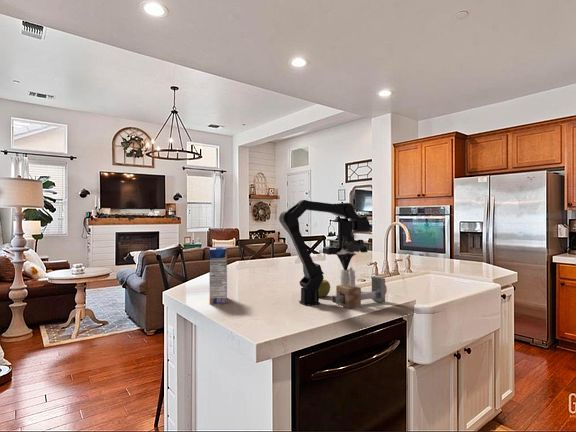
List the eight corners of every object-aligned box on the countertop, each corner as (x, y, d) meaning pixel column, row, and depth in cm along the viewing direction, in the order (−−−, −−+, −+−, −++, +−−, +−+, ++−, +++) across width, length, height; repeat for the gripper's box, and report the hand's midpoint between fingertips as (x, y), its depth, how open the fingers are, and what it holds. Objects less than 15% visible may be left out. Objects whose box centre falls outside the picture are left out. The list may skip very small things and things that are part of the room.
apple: (328, 299, 153) (328, 282, 153) (310, 297, 155) (310, 281, 155) (331, 295, 160) (331, 279, 160) (314, 294, 162) (314, 278, 162)
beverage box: (209, 304, 143) (209, 249, 144) (210, 298, 154) (210, 247, 154) (226, 303, 145) (226, 249, 145) (226, 297, 156) (226, 247, 156)
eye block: (348, 308, 136) (348, 289, 136) (336, 304, 143) (336, 285, 143) (360, 307, 138) (360, 287, 139) (348, 302, 146) (348, 284, 146)
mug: (353, 289, 174) (353, 264, 174) (360, 294, 162) (360, 267, 162) (338, 289, 173) (338, 264, 173) (344, 294, 161) (344, 268, 161)
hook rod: (338, 308, 135) (338, 282, 135) (329, 304, 141) (329, 280, 141) (387, 301, 146) (387, 278, 146) (377, 298, 151) (377, 276, 151)
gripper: (335, 235, 139) (335, 275, 139) (375, 233, 146) (375, 271, 146) (322, 233, 149) (322, 270, 149) (359, 231, 156) (360, 267, 156)
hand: (345, 270), depth 150 cm, fingers closed
